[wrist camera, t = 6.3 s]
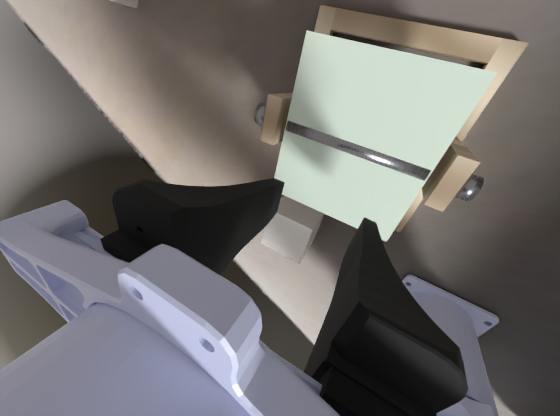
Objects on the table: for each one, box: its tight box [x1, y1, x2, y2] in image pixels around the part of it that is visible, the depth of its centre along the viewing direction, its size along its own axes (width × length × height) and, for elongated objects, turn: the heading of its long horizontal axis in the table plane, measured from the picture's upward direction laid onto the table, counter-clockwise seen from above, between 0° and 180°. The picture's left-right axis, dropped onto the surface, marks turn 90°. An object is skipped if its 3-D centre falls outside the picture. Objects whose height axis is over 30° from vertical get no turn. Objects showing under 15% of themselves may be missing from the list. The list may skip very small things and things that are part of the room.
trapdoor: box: [274, 31, 497, 242], centre depth 14 cm, size 10×9×2 cm
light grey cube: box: [261, 196, 324, 264], centre depth 24 cm, size 4×4×4 cm
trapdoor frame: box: [255, 5, 528, 233], centre depth 16 cm, size 14×14×7 cm
